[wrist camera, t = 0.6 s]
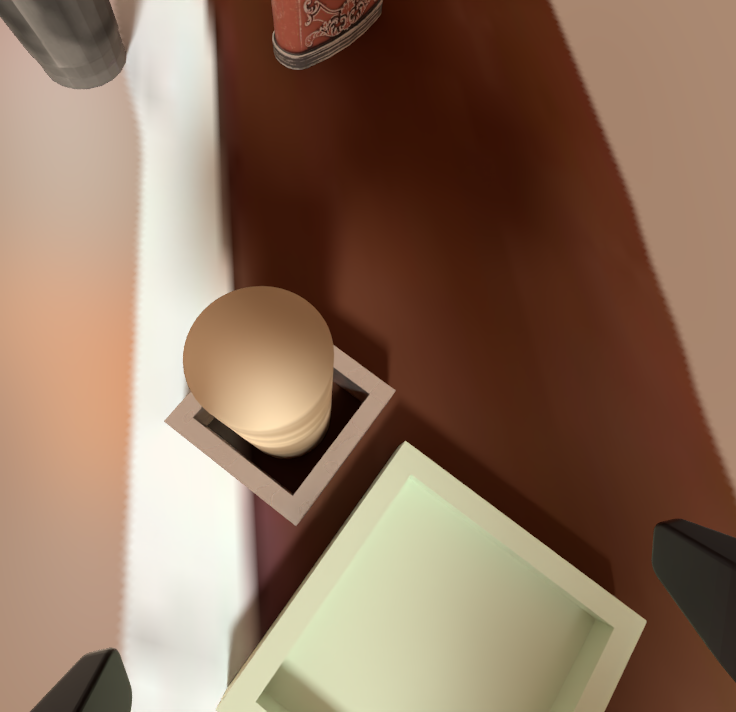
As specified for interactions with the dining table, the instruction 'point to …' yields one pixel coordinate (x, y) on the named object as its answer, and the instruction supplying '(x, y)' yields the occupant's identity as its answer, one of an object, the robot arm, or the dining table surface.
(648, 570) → the dining table surface
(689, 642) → the dining table surface
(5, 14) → the beverage cup
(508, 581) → the tray
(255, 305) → the pin
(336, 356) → the pin socket
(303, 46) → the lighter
